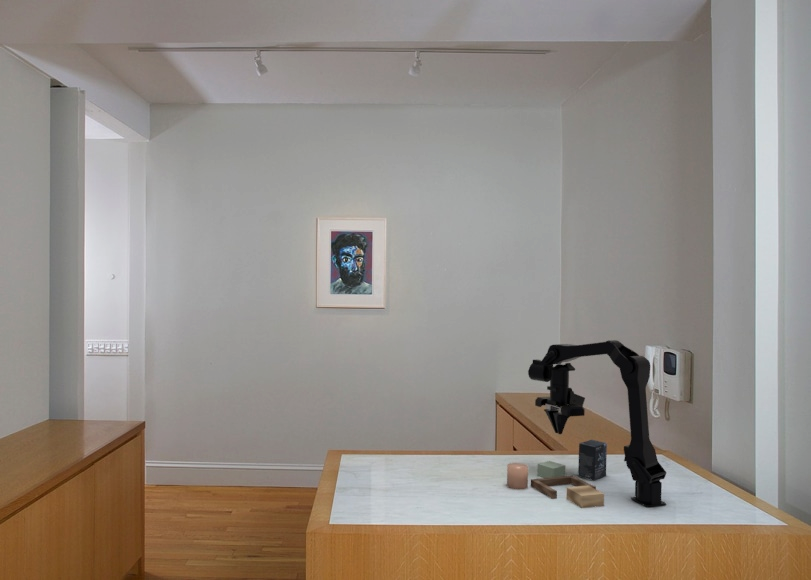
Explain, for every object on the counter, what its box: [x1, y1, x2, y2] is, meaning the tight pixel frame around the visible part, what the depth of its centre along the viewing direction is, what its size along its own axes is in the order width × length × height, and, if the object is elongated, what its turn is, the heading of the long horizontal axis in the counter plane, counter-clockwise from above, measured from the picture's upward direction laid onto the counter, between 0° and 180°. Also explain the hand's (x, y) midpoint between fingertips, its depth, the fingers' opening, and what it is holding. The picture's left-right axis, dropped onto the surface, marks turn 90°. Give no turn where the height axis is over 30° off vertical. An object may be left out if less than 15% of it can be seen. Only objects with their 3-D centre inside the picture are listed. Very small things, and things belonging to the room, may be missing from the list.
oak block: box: [566, 485, 605, 509], centre depth 156 cm, size 7×7×4 cm
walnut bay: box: [530, 475, 597, 500], centre depth 166 cm, size 11×14×2 cm
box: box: [577, 439, 608, 482], centre depth 180 cm, size 8×6×11 cm
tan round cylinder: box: [506, 462, 529, 491], centre depth 168 cm, size 6×6×6 cm
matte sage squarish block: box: [536, 460, 566, 478], centre depth 178 cm, size 6×6×4 cm
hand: (558, 433), depth 180 cm, fingers closed
